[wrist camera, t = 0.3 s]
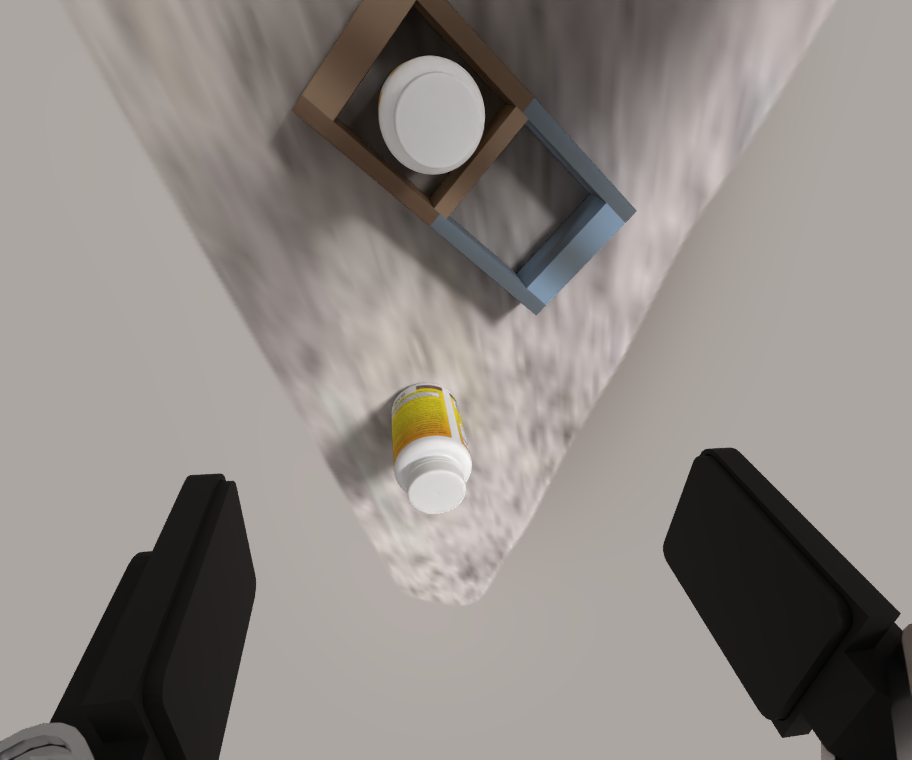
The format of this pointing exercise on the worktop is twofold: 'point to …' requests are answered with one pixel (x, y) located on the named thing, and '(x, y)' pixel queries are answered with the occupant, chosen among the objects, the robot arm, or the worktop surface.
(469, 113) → the supplement bottle
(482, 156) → the slot rack
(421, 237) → the worktop surface
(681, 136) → the worktop surface
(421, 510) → the supplement bottle
